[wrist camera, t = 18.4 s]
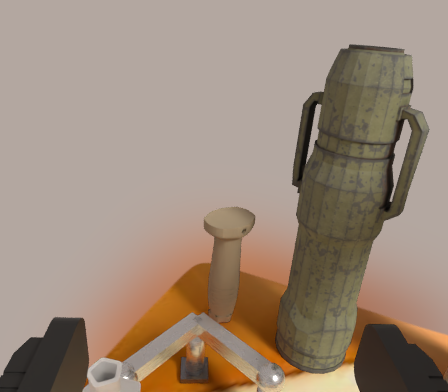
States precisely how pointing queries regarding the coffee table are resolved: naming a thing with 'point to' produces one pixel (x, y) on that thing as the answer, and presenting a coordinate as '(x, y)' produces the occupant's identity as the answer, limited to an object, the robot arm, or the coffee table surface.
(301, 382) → the coffee table surface
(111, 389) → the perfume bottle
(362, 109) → the thermos
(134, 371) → the bent rail
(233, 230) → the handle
